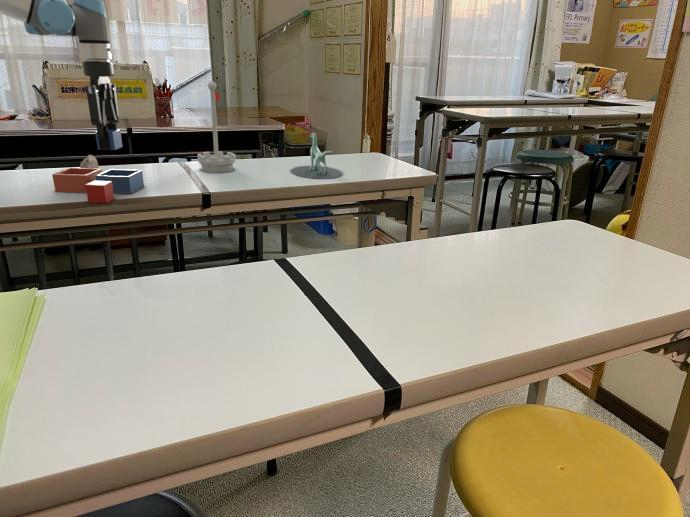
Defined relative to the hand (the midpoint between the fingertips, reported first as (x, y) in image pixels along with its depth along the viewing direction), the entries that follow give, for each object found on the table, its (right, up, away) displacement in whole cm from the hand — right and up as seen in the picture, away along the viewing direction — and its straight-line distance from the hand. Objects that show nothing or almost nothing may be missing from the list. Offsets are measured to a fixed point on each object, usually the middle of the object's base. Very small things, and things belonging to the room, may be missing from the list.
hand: (109, 147), depth 148 cm
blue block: (0, 0, 0) cm, 0 cm away
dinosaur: (+58, -1, +37) cm, 68 cm away
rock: (-14, -6, +19) cm, 24 cm away
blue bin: (+1, -11, +6) cm, 13 cm away
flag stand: (+22, 0, +37) cm, 43 cm away
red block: (+1, -16, -6) cm, 17 cm away
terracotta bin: (-12, -11, +6) cm, 17 cm away
